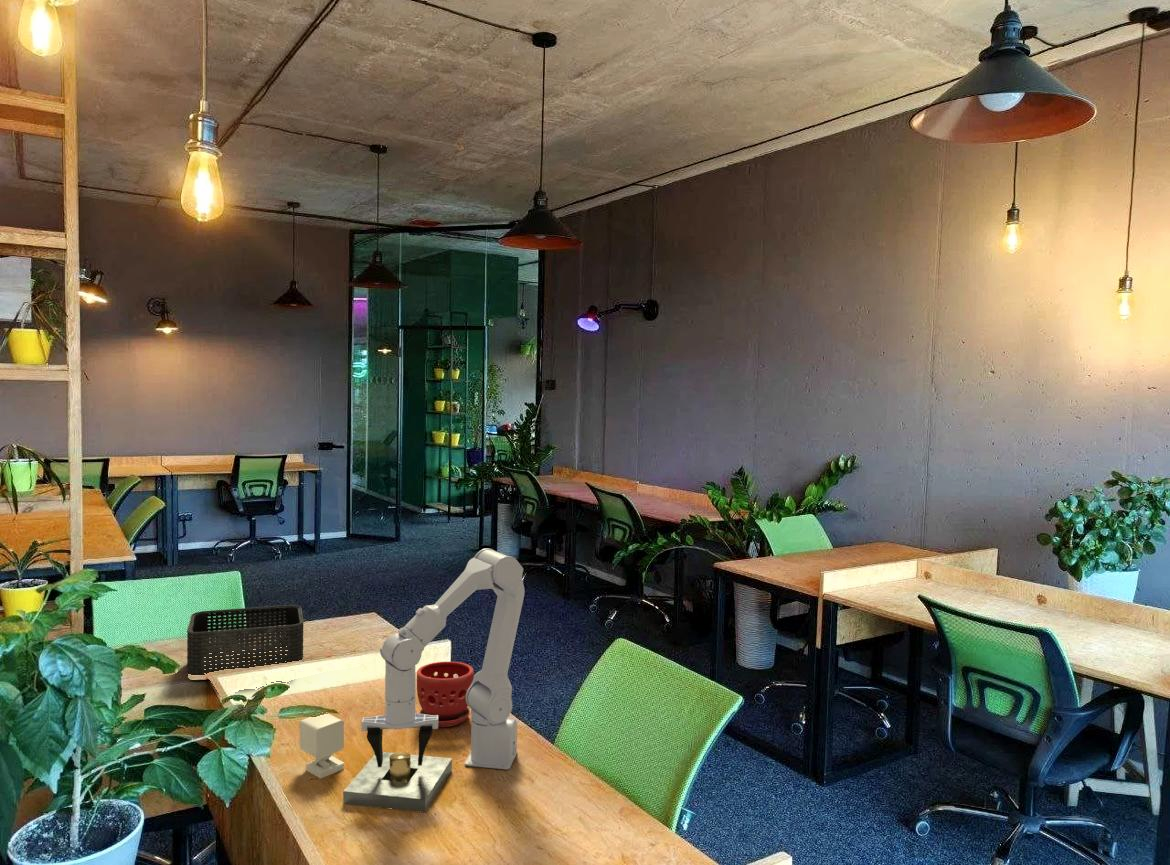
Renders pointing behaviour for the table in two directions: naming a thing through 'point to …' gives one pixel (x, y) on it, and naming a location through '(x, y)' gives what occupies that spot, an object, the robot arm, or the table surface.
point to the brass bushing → (400, 767)
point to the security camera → (322, 743)
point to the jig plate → (398, 784)
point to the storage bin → (244, 638)
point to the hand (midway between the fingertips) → (400, 764)
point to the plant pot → (444, 691)
